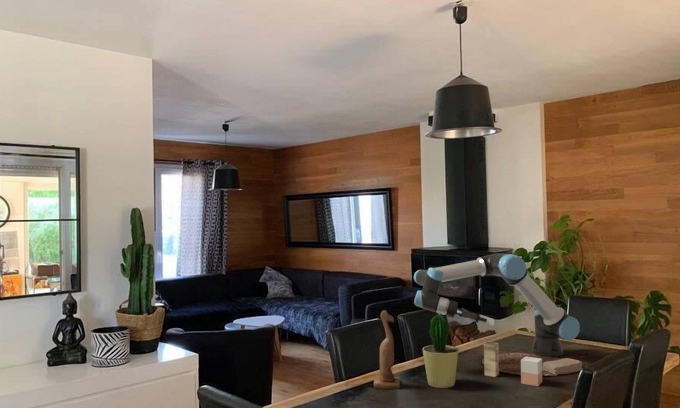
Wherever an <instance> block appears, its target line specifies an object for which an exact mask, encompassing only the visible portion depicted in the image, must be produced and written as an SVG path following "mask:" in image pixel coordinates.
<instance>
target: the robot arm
mask: <svg viewBox="0 0 680 408" xmlns="http://www.w3.org/2000/svg"><path fill="white" fill-rule="evenodd" d="M475 276H481V277H485V276H495V277H500V278H502V279H503V280H504V281H505V282H506V284H508V285H509V286H511V287H515V288H516V290H517V291H518V292H519V293H520V294H521V295H522V296H523V297H524V298H525V300H526V301H527V302H528V303H529V304H530V305H531V306H532V307H533V309H534V314H533V315H534V316H533V317H534V341H533V343H532V345H531V353H532V354H533V355H534V354H535V355H537V356H542V357H553V358H555V357H560V356H563V355H564V349H563V347H562V346H563V345H562V344H561V340H560V339H562V340H563V341H572V340H574V339H575V338H576V337H578V335H579V333H580V328H581V327H580V326H581V325H580V322H579V321H578V319H577V318H575V317H574V316H570V315H569V314H568V313H567V312H566V311H565V309H564V308H562V307H559V306H557V305H556V304H555V303H554V302H553V301H552V299H550V297H549V296H548V295H547V294H546V293H545V292H544V291H543V290H542V289H541V288H540V286H539V285H538V284H537V283H536V282H535V281H534V280H533V278H531V277H530V275H529V270H528V268H527V263H525V261H524V259H523V258H522V257H520V256H519V255H516V254H512V253H500V252H498V253H497V252H496V253H491V254H488V255H484V256H480V257H478V258H476V260H475V259H473V260H469V261H465V262H460V263H454V264H449V265H444V266H439V267H429V268H428V269H418V270H417V271H416V272H414V275H413V281H414V282H415V283H416V284H417V285H419V286H422V290H417V291H416V295H415V297H414V302H413V304H414V305H415V306H416V307H419V308H421V309H424V310H427V311H430V312H433V313H436V314H437V315H443V316H444V315H446V316H447V317H449V318H452V319H454V318H455V316H456V314H457V315H458V316H459V317H460V318H466V319H470V320H474V321H475V322H476V323H477V324H478V323H482V324H485V325H488V326H491V327H494V324H495V322H496V321H495V319H494V318H492V317H489V316H485V315H482V314H481V313H480V312H477V313H476V312H473V311H470V310H468V309H466V308H464V307H460V308H458V304H459V303H458V302H457V301H454V300H450V299H448V298H445V297H443V296H438V295H439V291H440V288H441V285H442V283H444V282H448V281H455V280H461V279H465V278H469V277H470V278H471V277H475Z"/></svg>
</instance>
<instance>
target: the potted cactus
mask: <svg viewBox="0 0 680 408" xmlns="http://www.w3.org/2000/svg"><path fill="white" fill-rule="evenodd" d="M431 318H432V319H430V320H429V322H430V325H429V326H430V329H429V335H430V337H431V345H427V346H424V347H423V348H422V355H423V360H424V367H425V372H426V379H427V384H428V385H429V386H431V387H434V388H439V389H448V388H452V387H454V386H455V383H456V374H457V367H458V358H459V351H460V350H459V348H457V347H455V346H451V345H447V343H448V339H449V337H448V336H449V334H451V332H450V326H449V324H450V323H449V322H448V320H447V319H446V317H445V316H444V315H443V314H440V315H439V314H436V315H434V316H432V317H431Z"/></svg>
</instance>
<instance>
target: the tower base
mask: <svg viewBox="0 0 680 408" xmlns="http://www.w3.org/2000/svg"><path fill="white" fill-rule="evenodd" d="M520 383H521V384H523V385H529V386H534V387H539V386H540V385H541V384H542V383H543V370H542V371H541V372H540V373H539V374H532V373H525V372H521V371H520Z"/></svg>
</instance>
